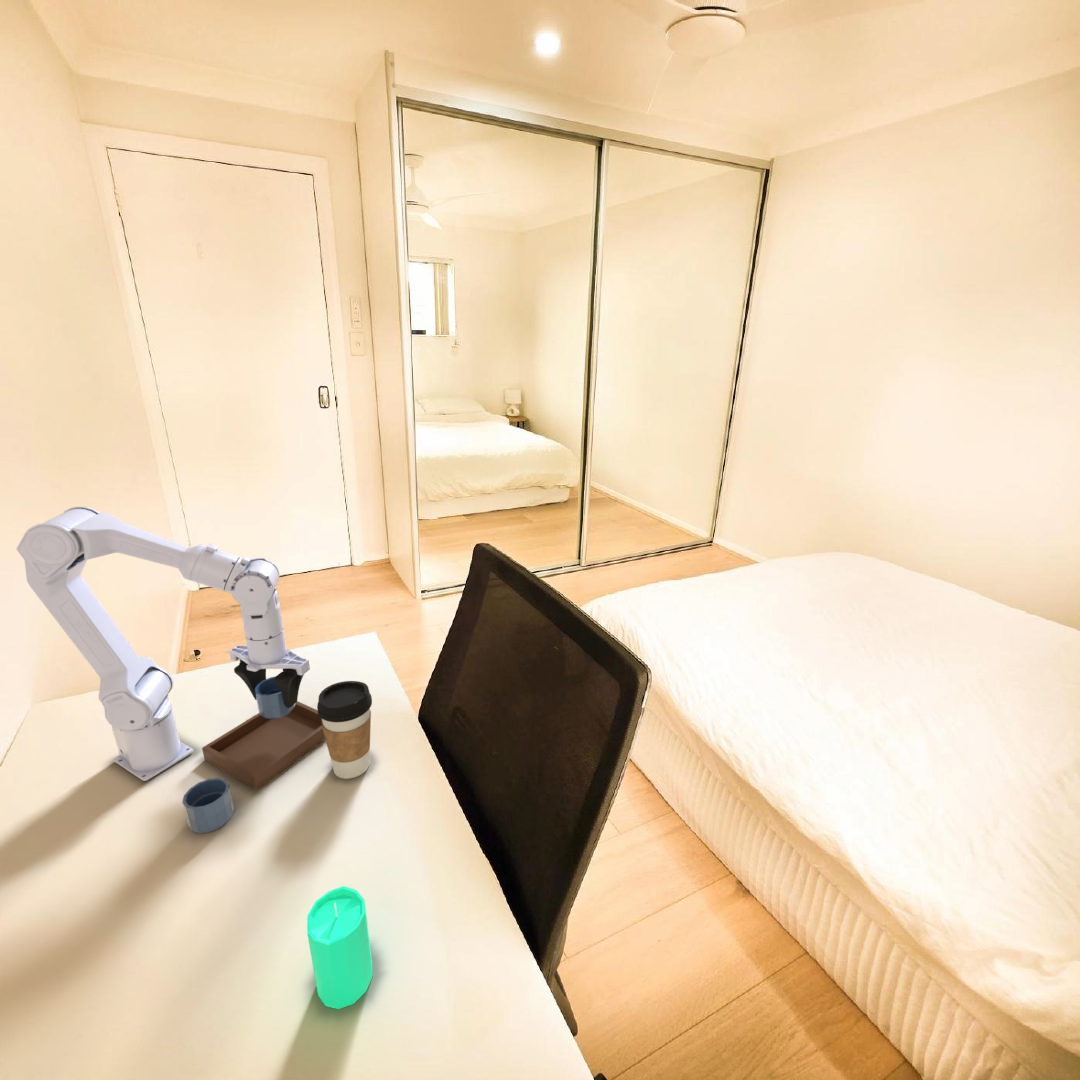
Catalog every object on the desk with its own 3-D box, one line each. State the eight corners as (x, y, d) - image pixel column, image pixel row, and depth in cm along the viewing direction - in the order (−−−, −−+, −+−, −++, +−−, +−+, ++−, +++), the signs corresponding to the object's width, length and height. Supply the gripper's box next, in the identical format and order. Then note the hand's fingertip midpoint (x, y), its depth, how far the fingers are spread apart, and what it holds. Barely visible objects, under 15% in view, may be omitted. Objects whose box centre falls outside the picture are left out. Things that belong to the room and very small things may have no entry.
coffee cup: (362, 788, 86) (354, 712, 81) (315, 779, 87) (304, 703, 82) (386, 753, 94) (380, 680, 89) (342, 745, 95) (334, 673, 90)
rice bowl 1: (180, 825, 78) (173, 799, 77) (219, 797, 83) (213, 772, 82) (204, 841, 76) (198, 815, 74) (243, 812, 81) (237, 786, 79)
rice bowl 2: (251, 716, 91) (246, 692, 89) (276, 696, 97) (272, 673, 95) (279, 723, 90) (275, 698, 88) (303, 702, 95) (299, 679, 93)
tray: (204, 760, 91) (201, 747, 90) (287, 706, 105) (286, 695, 104) (256, 790, 85) (253, 777, 84) (337, 729, 99) (336, 718, 98)
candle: (326, 952, 63) (314, 878, 59) (378, 948, 63) (370, 875, 59) (309, 1011, 57) (295, 934, 53) (366, 1007, 58) (357, 930, 54)
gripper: (209, 636, 86) (223, 706, 91) (283, 651, 82) (295, 723, 87) (243, 616, 92) (255, 683, 97) (314, 630, 89) (322, 698, 93)
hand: (276, 700), depth 92 cm, fingers closed on rice bowl 2, 6 cm apart
